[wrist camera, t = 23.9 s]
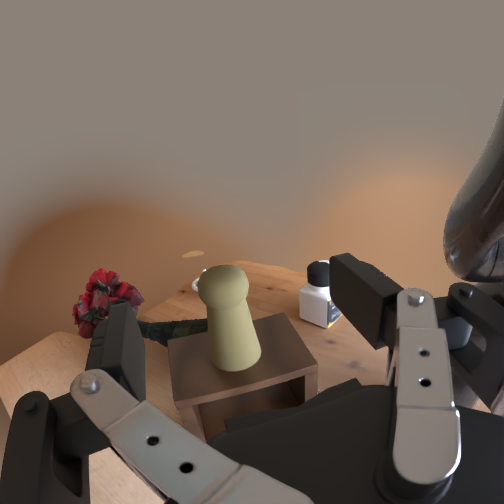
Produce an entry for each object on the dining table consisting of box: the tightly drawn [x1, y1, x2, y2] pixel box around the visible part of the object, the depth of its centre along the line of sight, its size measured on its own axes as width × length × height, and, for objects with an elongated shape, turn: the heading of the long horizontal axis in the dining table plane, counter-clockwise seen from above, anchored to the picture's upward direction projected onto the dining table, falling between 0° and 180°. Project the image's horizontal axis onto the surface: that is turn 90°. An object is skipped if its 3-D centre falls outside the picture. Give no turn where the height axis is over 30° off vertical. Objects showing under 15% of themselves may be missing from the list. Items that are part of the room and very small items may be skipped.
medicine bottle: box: [299, 260, 342, 329], centre depth 63 cm, size 7×7×12 cm
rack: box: [168, 313, 318, 443], centre depth 39 cm, size 16×11×15 cm
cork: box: [197, 265, 261, 371], centre depth 34 cm, size 6×6×11 cm
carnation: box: [72, 269, 208, 347], centre depth 62 cm, size 16×18×35 cm
